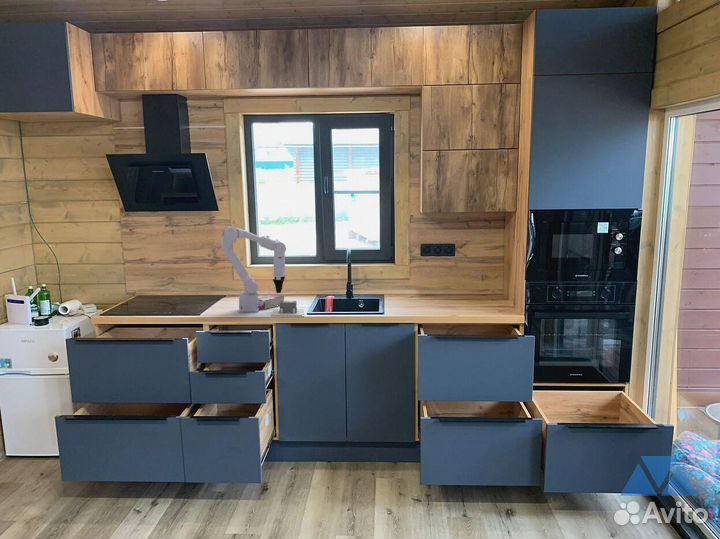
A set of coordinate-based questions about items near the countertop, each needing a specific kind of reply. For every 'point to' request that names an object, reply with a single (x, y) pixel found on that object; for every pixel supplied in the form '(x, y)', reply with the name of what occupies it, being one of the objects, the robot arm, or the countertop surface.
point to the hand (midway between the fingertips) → (279, 291)
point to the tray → (277, 313)
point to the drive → (288, 306)
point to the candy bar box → (269, 301)
